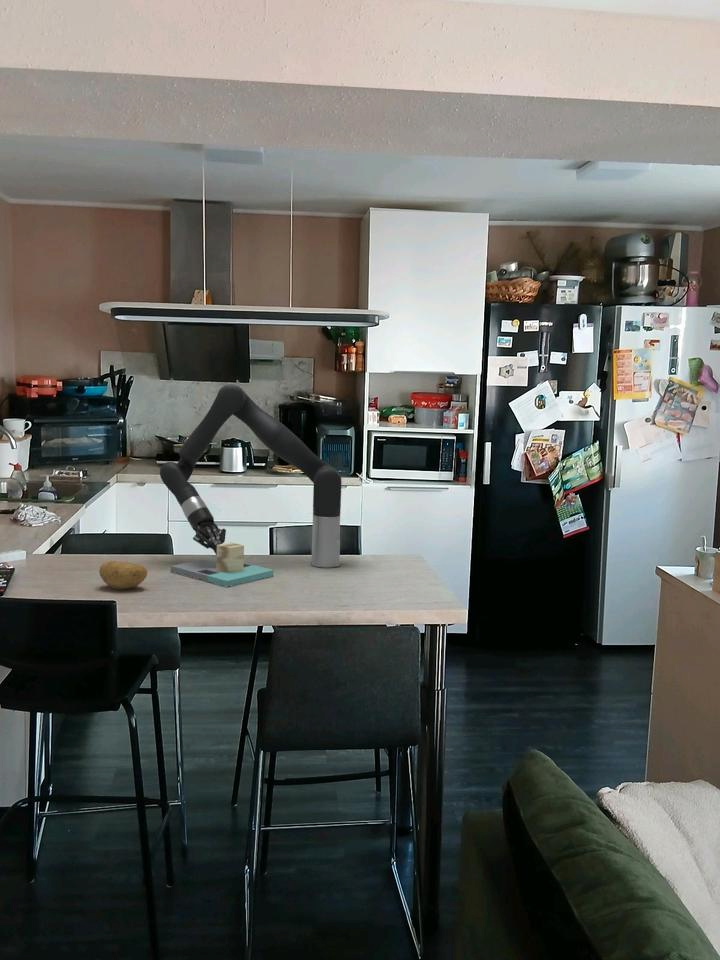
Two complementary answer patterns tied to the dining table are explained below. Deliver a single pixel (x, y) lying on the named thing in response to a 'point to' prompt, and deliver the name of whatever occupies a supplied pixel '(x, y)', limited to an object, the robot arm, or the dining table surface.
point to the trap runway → (221, 572)
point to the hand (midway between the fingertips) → (222, 556)
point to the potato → (122, 574)
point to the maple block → (230, 557)
